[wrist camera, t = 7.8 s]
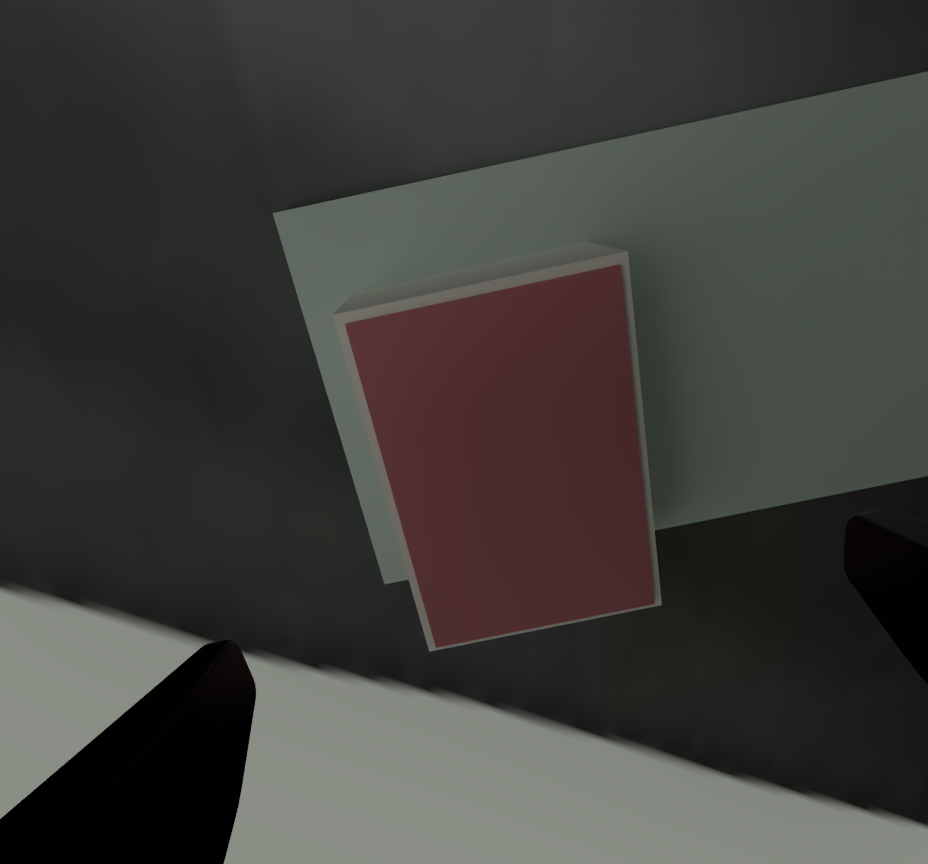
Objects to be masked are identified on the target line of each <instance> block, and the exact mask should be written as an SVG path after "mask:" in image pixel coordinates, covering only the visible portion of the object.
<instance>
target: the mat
mask: <svg viewBox="0 0 928 864" xmlns="http://www.w3.org/2000/svg"><path fill="white" fill-rule="evenodd" d="M273 216H274V219H275V222H276V226H277V229H278V232H279V236H280V239H281V242H282V246H283V249H284V252H285V256H286V259H287V262H288V265H289V269H290V272H291V275H292V279H293V282H294V285H295V289H296V292H297V295H298V299H299V302H300V305H301V309H302V312H303V315H304V319H305V322H306V325H307V328H308V332H309V335H310V338H311V342H312V345H313V348H314V352H315V355H316V358H317V362H318V365H319V368H320V372H321V375H322V378H323V382H324V385H325V388H326V391H327V395H328V398H329V401H330V405H331V408H332V411H333V415H334V418H335V421H336V425H337V428H338V431H339V435H340V438H341V441H342V445H343V448H344V451H345V455H346V458H347V461H348V464H349V468H350V471H351V474H352V478H353V481H354V484H355V488H356V491H357V494H358V498H359V501H360V504H361V508H362V511H363V514H364V518H365V521H366V524H367V527H368V531H369V534H370V537H371V541H372V544H373V547H374V551H375V554H376V557H377V561H378V564H379V567H380V571H381V574H382V577H383V581H384V584H388V583H393V582H398V581H403V580H408V576H407V572H406V569H405V565H404V562H403V558H402V555H401V551H400V548H399V544H398V541H397V537H396V534H395V530H394V527H393V524H392V520H391V517H390V513H389V510H388V506H387V503H386V499H385V496H384V492H383V489H382V485H381V482H380V478H379V475H378V471H377V468H376V465H375V461H374V458H373V454H372V451H371V447H370V444H369V440H368V437H367V433H366V430H365V426H364V423H363V419H362V416H361V413H360V409H359V406H358V402H357V399H356V395H355V392H354V388H353V385H352V381H351V378H350V374H349V371H348V367H347V364H346V360H345V357H344V354H343V350H342V347H341V343H340V340H339V336H338V333H337V329H336V326H335V322H334V319H333V314H334V313H335V312H336V311H337V310H338V309H339V308H340V306H341V305H342V304H343V303H344V302H345V301H346V300H347V299H348V298H349V297H350V296H351V295H352V294H353V293H355V292H359V291H364V290H369V289H373V288H378V287H382V286H387V285H392V284H396V283H401V282H405V281H410V280H414V279H419V278H424V277H428V276H433V275H437V274H442V273H447V272H451V271H456V270H460V269H465V268H470V267H474V266H479V265H483V264H488V263H493V262H497V261H502V260H506V259H511V258H516V257H520V256H525V255H529V254H534V253H539V252H543V251H548V250H552V249H557V248H562V247H566V246H571V245H575V244H580V243H584V242H589V243H593V244H598V245H603V246H607V247H612V248H616V249H621V250H625V251H628V258H629V269H630V279H631V290H632V300H633V311H634V321H635V331H636V342H637V352H638V363H639V373H640V384H641V394H642V404H643V415H644V425H645V436H646V446H647V457H648V467H649V477H650V488H651V498H652V509H653V519H654V530H659V529H664V528H669V527H675V526H680V525H685V524H690V523H695V522H700V521H705V520H710V519H715V518H720V517H725V516H730V515H735V514H740V513H745V512H750V511H755V510H760V509H765V508H770V507H775V506H780V505H785V504H790V503H795V502H800V501H805V500H810V499H815V498H820V497H825V496H830V495H835V494H840V493H845V492H850V491H855V490H860V489H865V488H870V487H875V486H880V485H885V484H890V483H895V482H900V481H905V480H910V479H915V478H920V477H926V476H928V72H923V73H918V74H914V75H909V76H905V77H900V78H895V79H891V80H886V81H881V82H877V83H872V84H868V85H863V86H858V87H854V88H849V89H844V90H840V91H835V92H831V93H826V94H821V95H817V96H812V97H808V98H803V99H798V100H794V101H789V102H784V103H780V104H775V105H771V106H766V107H761V108H757V109H752V110H747V111H743V112H738V113H734V114H729V115H724V116H720V117H715V118H711V119H706V120H701V121H697V122H692V123H687V124H683V125H678V126H674V127H669V128H664V129H660V130H655V131H650V132H646V133H641V134H637V135H632V136H627V137H623V138H618V139H613V140H609V141H604V142H600V143H595V144H590V145H586V146H581V147H577V148H572V149H567V150H563V151H558V152H553V153H549V154H544V155H540V156H535V157H530V158H526V159H521V160H516V161H512V162H507V163H503V164H498V165H493V166H489V167H484V168H480V169H475V170H470V171H466V172H461V173H456V174H452V175H447V176H443V177H438V178H433V179H429V180H424V181H419V182H415V183H410V184H406V185H401V186H396V187H392V188H387V189H382V190H378V191H373V192H369V193H364V194H359V195H355V196H350V197H346V198H341V199H336V200H332V201H327V202H322V203H318V204H313V205H309V206H304V207H299V208H295V209H290V210H285V211H281V212H276V213H273Z"/></svg>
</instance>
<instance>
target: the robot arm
mask: <svg viewBox="0 0 928 864" xmlns="http://www.w3.org/2000/svg"><path fill="white" fill-rule="evenodd" d="M844 569H845V572H846V575H847V577H848V579H849V580H850V582H851V584H852V585H853V586H854V588H855V589H856V590H857V592H858V593H859V594H860V596H861V597H862V598H863V600H864V601H865V603H866V604H867V605H868V607H869V608H870V609H871V611H872V612H873V613H874V615H875V616H876V618H877V619H878V620H879V622H880V623H881V624H882V626H883V627H884V628H885V630H886V631H887V633H888V634H889V635H890V637H891V638H892V639H893V641H894V642H895V643H896V645H897V646H898V648H899V649H900V650H901V652H902V653H903V654H904V656H905V657H906V658H907V660H908V661H909V662H910V663H911V665H912V666H913V667H914V669H915V670H916V671H917V672H918V674H919V675H920V676H921V677H922V678H923V679H924V681H925V682H926V683H927V684H928V522H926V521H922V520H918V519H915V518H911V517H907V516H903V515H899V514H895V513H891V512H887V511H883V510H874V511H869V512H864V513H859V514H854V515H852V516H850V517H849V518H848V519H847V521H846V525H845V542H844ZM255 699H256V688H255V682H254V679H253V677H252V675H251V672H250V670H249V668H248V665H247V663H246V661H245V658H244V656H243V654H242V652H241V649H240V647H239V645H238V644H237V643H236V642H235V641H233V640H224V641H219V642H214V643H209V644H206V645H204V646H203V647H201V648H200V649H199V650H198V651H197V652H196V653H194V654H193V655H192V656H191V657H190V658H188V659H187V660H186V661H185V662H184V663H183V664H181V665H180V666H179V667H178V668H177V669H176V670H174V671H173V672H172V673H171V674H170V675H169V676H167V677H166V678H165V679H164V680H163V681H162V682H160V683H159V684H158V685H157V686H156V687H154V689H152V690H151V691H150V692H149V693H147V694H146V695H145V696H144V697H143V698H142V699H140V700H139V701H138V702H137V703H136V704H135V705H134V706H132V707H131V708H130V709H129V710H128V711H126V712H125V713H124V714H123V715H122V716H121V717H119V718H118V719H117V720H116V721H115V722H113V723H112V724H111V725H110V726H109V727H108V728H106V729H105V730H104V731H103V732H102V733H101V734H99V735H98V736H97V737H96V738H95V739H94V740H93V741H91V742H90V743H89V744H88V745H87V746H85V747H84V748H83V749H82V750H81V751H80V752H78V753H77V754H76V755H75V756H74V757H73V758H71V759H70V760H69V761H68V762H67V763H65V765H63V766H62V767H61V768H60V769H58V770H57V771H56V772H55V773H54V774H53V775H51V776H50V777H49V778H48V779H47V780H46V781H44V782H43V783H42V784H41V785H40V786H38V788H36V789H35V790H34V791H33V792H32V793H31V794H29V795H28V796H27V797H26V798H25V799H23V800H22V801H21V802H20V803H19V804H17V805H16V806H15V807H14V808H13V809H12V810H10V811H9V812H8V813H7V814H6V815H5V816H3V817H2V818H1V819H0V864H223V863H224V860H225V856H226V852H227V848H228V845H229V840H230V837H231V833H232V829H233V825H234V821H235V817H236V813H237V808H238V805H239V799H240V794H241V788H242V783H243V776H244V770H245V763H246V757H247V750H248V744H249V738H250V731H251V725H252V718H253V711H254V706H255Z"/></svg>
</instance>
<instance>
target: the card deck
mask: <svg viewBox="0 0 928 864" xmlns="http://www.w3.org/2000/svg"><path fill="white" fill-rule="evenodd" d="M333 319H334V322H335V326H336V329H337V333H338V336H339V340H340V343H341V347H342V350H343V354H344V357H345V360H346V364H347V367H348V371H349V374H350V378H351V381H352V385H353V388H354V392H355V395H356V399H357V402H358V406H359V409H360V413H361V416H362V419H363V423H364V426H365V430H366V433H367V437H368V440H369V444H370V447H371V451H372V454H373V458H374V461H375V465H376V468H377V471H378V475H379V478H380V482H381V485H382V489H383V492H384V496H385V499H386V503H387V506H388V510H389V513H390V517H391V520H392V524H393V527H394V530H395V534H396V537H397V541H398V544H399V548H400V551H401V555H402V558H403V562H404V565H405V569H406V572H407V576H408V579H409V582H410V586H411V589H412V593H413V596H414V600H415V603H416V607H417V610H418V614H419V617H420V621H421V624H422V628H423V631H424V635H425V638H426V641H427V645H428V648H429V652H430V651H435V650H440V649H445V648H450V647H455V646H460V645H465V644H470V643H475V642H480V641H485V640H490V639H495V638H500V637H505V636H510V635H515V634H520V633H525V632H530V631H535V630H540V629H545V628H550V627H555V626H560V625H565V624H570V623H575V622H580V621H585V620H590V619H595V618H600V617H605V616H610V615H615V614H620V613H625V612H630V611H635V610H640V609H645V608H650V607H655V606H660V605H662V603H661V592H660V582H659V571H658V561H657V551H656V540H655V530H654V519H653V509H652V498H651V488H650V477H649V467H648V457H647V446H646V436H645V425H644V415H643V404H642V394H641V384H640V373H639V363H638V352H637V342H636V331H635V321H634V311H633V300H632V290H631V279H630V269H629V258H628V251H625V250H621V249H616V248H612V247H607V246H603V245H598V244H593V243H589V242H584V243H580V244H575V245H571V246H566V247H562V248H557V249H552V250H548V251H543V252H539V253H534V254H529V255H525V256H520V257H516V258H511V259H506V260H502V261H497V262H493V263H488V264H483V265H479V266H474V267H470V268H465V269H460V270H456V271H451V272H447V273H442V274H437V275H433V276H428V277H424V278H419V279H414V280H410V281H405V282H401V283H396V284H392V285H387V286H382V287H378V288H373V289H369V290H364V291H359V292H355V293H353V294H352V295H351V296H350V297H349V298H348V299H347V300H346V301H345V302H344V303H343V304H342V305H341V306H340V308H339V309H338V310H337V311H336V312H335V313H334V314H333Z"/></svg>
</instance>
